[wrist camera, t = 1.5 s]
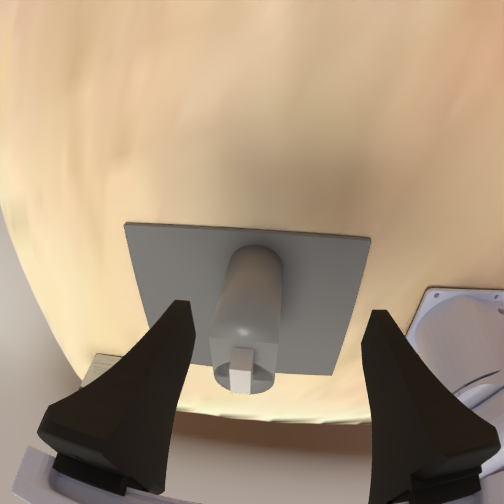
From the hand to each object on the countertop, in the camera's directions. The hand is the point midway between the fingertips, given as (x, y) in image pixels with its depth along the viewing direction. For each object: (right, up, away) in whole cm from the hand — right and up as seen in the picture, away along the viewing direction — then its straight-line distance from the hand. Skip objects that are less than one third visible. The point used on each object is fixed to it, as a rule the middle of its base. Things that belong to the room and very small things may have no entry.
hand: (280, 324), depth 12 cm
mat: (-2, -2, +14) cm, 15 cm away
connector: (-1, 0, +12) cm, 12 cm away
